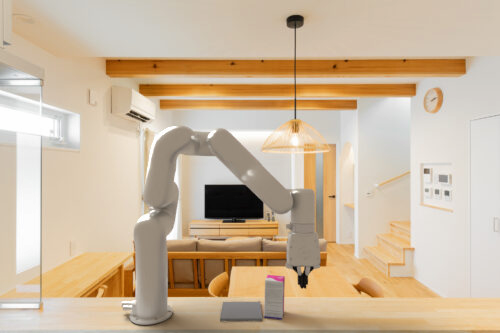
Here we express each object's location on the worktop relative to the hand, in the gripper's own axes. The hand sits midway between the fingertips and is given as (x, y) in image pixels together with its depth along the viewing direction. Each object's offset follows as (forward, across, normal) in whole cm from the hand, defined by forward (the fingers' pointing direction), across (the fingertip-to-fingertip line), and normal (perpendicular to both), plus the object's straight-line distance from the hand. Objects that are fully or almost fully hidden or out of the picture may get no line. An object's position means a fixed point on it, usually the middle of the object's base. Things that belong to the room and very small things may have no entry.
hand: (302, 286), depth 97 cm
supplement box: (+9, -9, 0) cm, 13 cm away
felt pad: (+9, -19, +2) cm, 21 cm away
